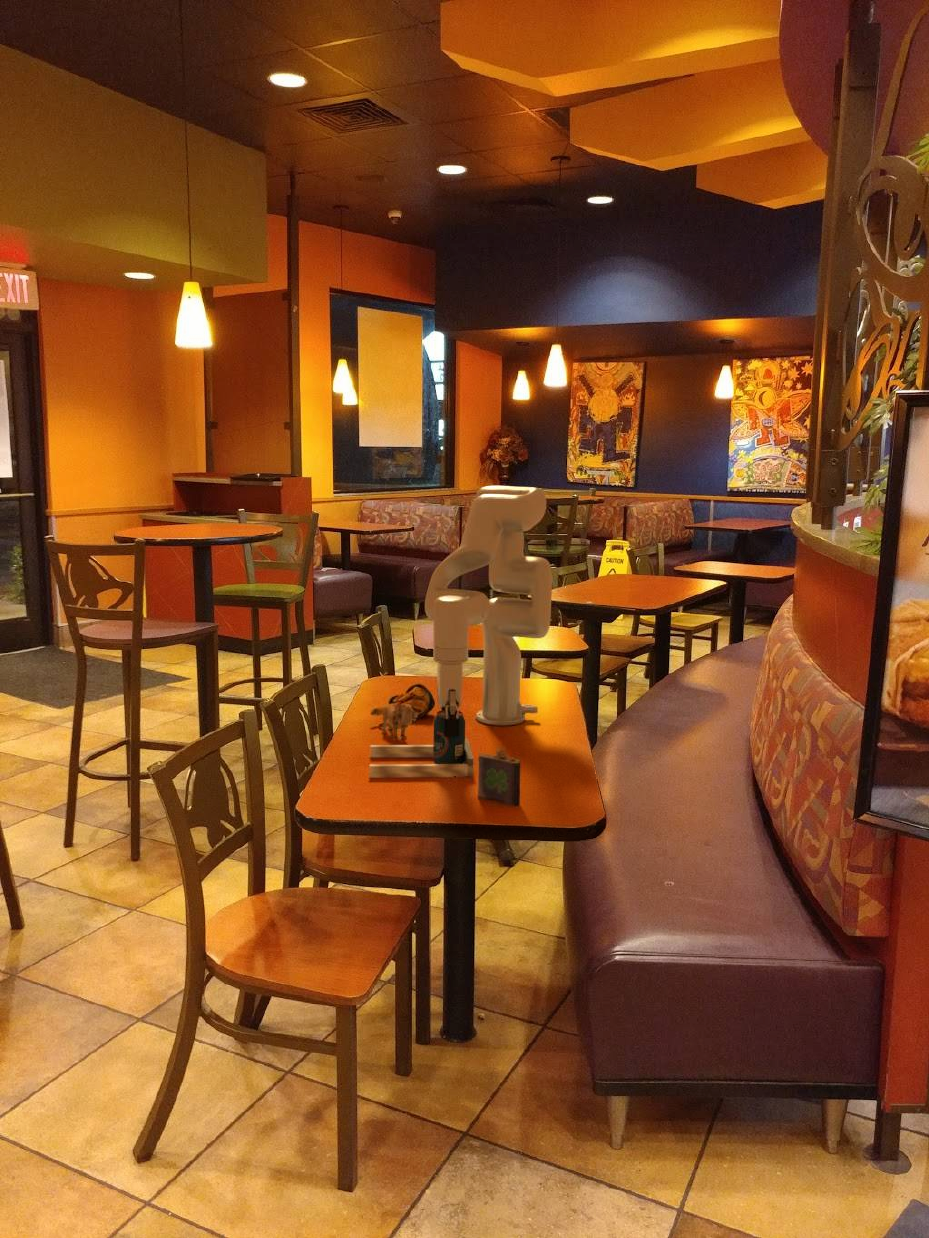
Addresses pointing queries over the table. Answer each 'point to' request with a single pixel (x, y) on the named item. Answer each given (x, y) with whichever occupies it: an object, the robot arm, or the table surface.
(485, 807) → the table surface
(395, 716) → the lion figurine
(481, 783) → the flask
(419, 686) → the fried shrimp in bowl
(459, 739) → the soda can
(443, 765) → the guide track
